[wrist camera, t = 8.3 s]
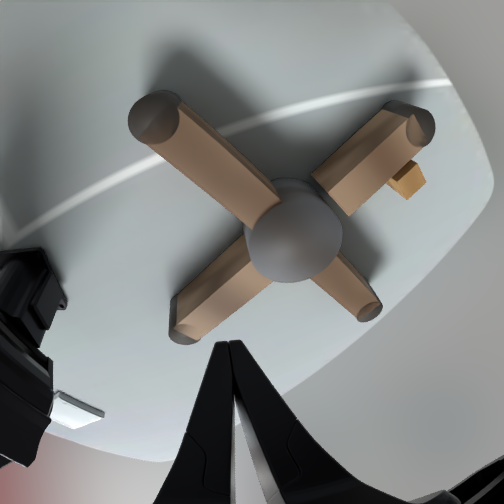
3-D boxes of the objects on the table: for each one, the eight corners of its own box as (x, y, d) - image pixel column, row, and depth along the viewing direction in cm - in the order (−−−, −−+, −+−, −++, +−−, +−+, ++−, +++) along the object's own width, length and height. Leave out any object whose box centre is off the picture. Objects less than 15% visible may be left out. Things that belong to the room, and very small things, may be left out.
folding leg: (331, 197, 20) (349, 217, 18) (309, 173, 19) (326, 191, 16) (414, 121, 17) (440, 132, 15) (397, 93, 16) (424, 101, 13)
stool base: (268, 358, 31) (275, 386, 28) (53, 235, 18) (35, 264, 15) (433, 231, 24) (455, 253, 21) (263, -8, 12) (277, -25, 9)
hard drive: (58, 397, 30) (35, 412, 33) (104, 418, 34) (74, 430, 37) (59, 388, 31) (37, 404, 34) (105, 409, 36) (75, 423, 39)
